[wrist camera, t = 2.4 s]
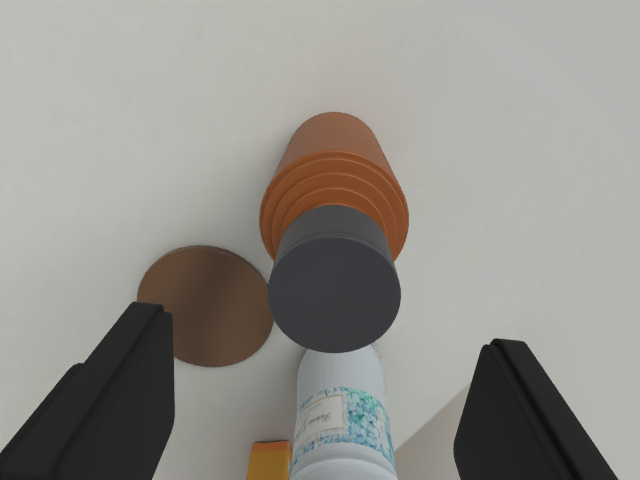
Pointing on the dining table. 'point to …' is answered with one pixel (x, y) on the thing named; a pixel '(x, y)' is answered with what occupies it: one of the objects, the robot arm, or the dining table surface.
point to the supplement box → (270, 461)
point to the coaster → (210, 304)
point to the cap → (334, 281)
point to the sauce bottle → (334, 180)
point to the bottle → (342, 418)
